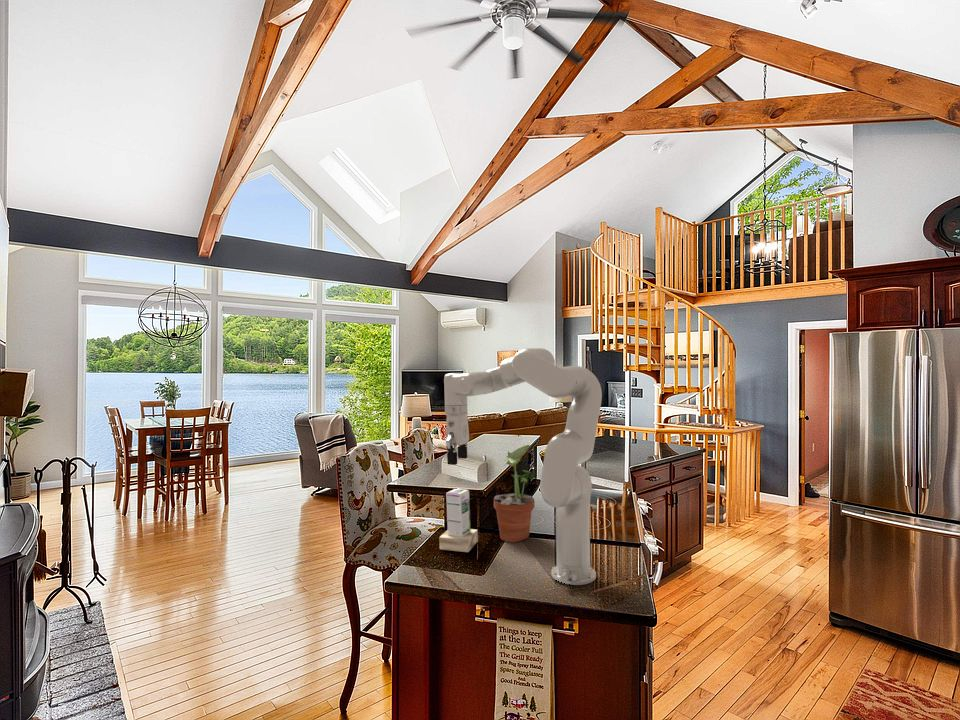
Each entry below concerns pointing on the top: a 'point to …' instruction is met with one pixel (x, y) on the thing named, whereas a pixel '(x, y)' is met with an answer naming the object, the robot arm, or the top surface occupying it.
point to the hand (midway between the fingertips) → (457, 461)
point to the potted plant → (515, 504)
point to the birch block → (458, 541)
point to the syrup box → (458, 512)
